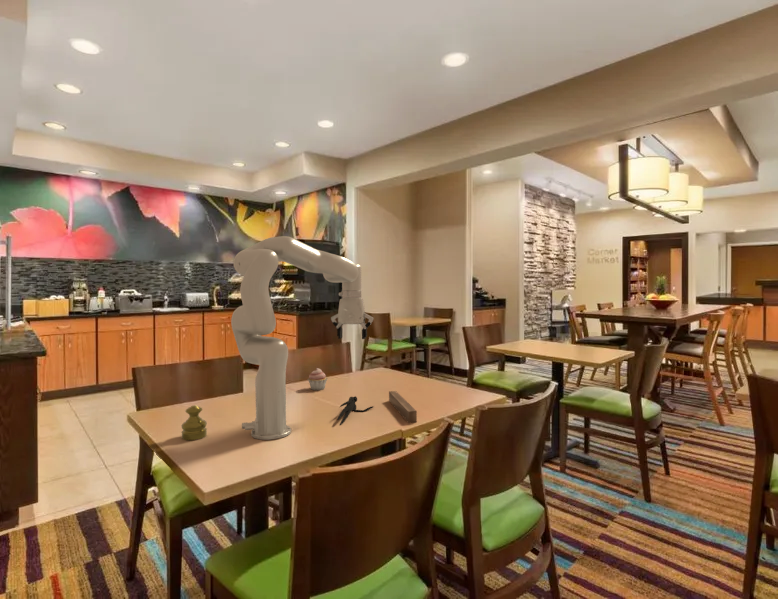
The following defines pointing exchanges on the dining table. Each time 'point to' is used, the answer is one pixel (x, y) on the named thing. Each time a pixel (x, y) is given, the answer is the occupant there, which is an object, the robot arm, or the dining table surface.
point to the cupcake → (317, 380)
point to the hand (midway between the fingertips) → (352, 338)
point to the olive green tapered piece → (194, 425)
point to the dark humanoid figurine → (350, 408)
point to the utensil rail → (403, 406)
